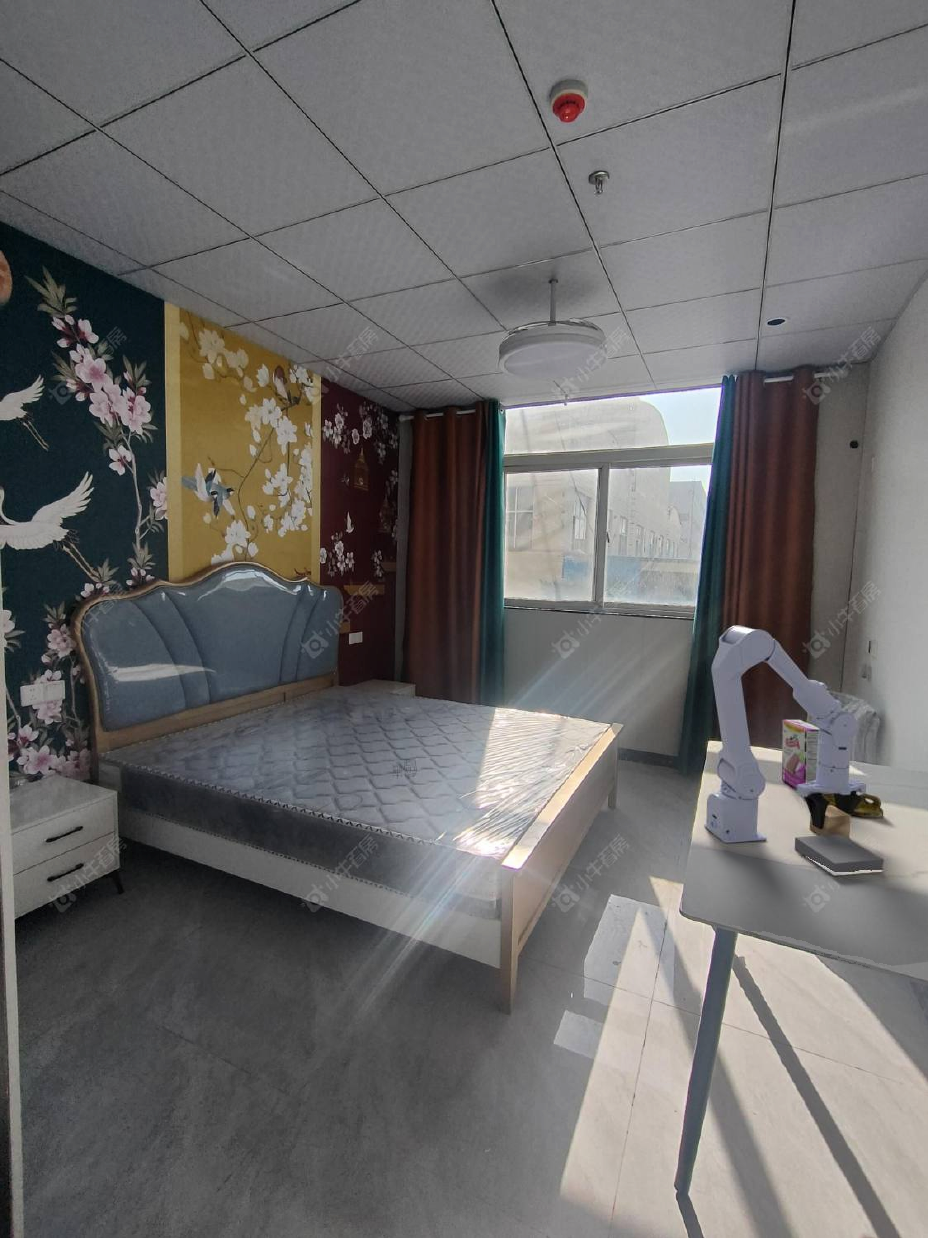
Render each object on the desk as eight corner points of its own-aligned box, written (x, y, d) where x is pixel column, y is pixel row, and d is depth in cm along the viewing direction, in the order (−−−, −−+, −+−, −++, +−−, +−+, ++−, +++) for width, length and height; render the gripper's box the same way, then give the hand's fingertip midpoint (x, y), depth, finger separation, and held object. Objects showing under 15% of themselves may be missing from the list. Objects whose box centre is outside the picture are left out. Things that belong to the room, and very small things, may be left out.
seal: (802, 805, 133) (879, 827, 123) (803, 787, 132) (880, 808, 122) (813, 788, 140) (887, 808, 129) (814, 771, 139) (888, 790, 128)
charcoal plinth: (834, 876, 102) (834, 863, 101) (794, 849, 112) (795, 837, 111) (882, 872, 103) (883, 859, 103) (839, 845, 113) (840, 834, 113)
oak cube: (827, 840, 115) (828, 816, 115) (809, 829, 120) (810, 806, 120) (849, 838, 116) (850, 815, 116) (830, 827, 121) (831, 805, 120)
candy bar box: (780, 780, 148) (781, 719, 147) (799, 780, 147) (800, 719, 147) (804, 795, 137) (805, 729, 136) (825, 795, 136) (826, 729, 136)
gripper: (816, 772, 112) (812, 837, 113) (880, 768, 114) (876, 832, 115) (791, 760, 119) (788, 822, 120) (851, 757, 121) (848, 817, 122)
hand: (829, 826), depth 118 cm, fingers closed on oak cube, 5 cm apart
